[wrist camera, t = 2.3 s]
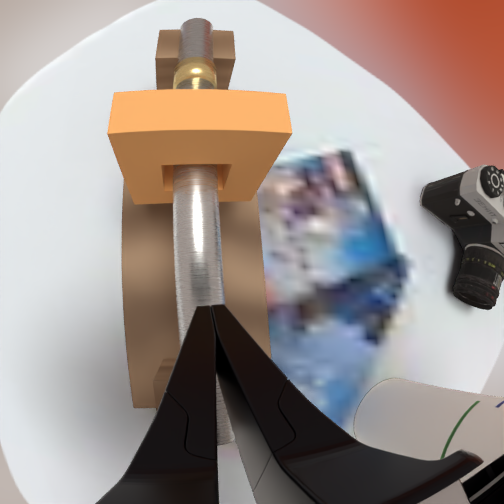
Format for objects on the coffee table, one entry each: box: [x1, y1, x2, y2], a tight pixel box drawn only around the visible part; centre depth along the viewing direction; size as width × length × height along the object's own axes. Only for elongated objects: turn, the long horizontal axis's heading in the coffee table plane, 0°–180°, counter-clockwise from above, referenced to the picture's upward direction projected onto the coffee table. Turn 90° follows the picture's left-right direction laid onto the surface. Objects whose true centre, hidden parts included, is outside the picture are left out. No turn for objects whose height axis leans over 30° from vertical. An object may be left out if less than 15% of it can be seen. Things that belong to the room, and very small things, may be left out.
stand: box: [122, 30, 271, 410], centre depth 19 cm, size 25×10×8 cm, turn 5°
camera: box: [420, 165, 504, 310], centre depth 24 cm, size 15×11×10 cm
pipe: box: [173, 18, 235, 445], centre depth 15 cm, size 24×2×2 cm, turn 5°
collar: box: [107, 89, 292, 205], centre depth 15 cm, size 2×7×8 cm, turn 95°
